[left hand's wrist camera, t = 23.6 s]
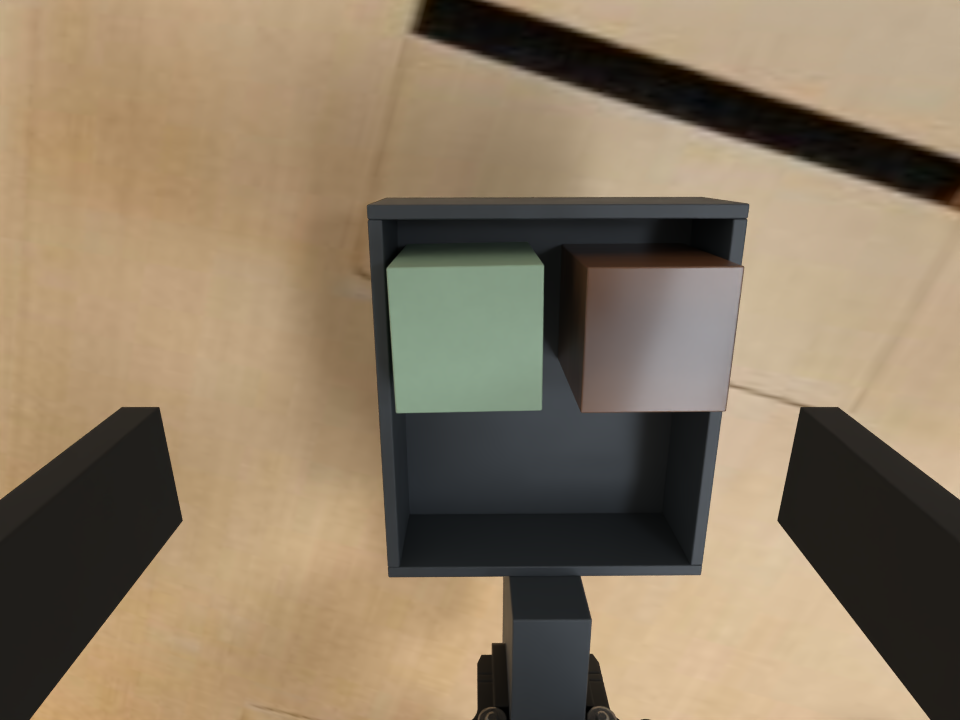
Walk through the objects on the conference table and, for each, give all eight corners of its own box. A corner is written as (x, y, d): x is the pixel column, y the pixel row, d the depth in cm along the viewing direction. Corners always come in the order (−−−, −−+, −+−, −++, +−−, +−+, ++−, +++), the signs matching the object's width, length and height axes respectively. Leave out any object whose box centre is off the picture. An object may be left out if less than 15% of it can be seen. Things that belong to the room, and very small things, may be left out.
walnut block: (561, 243, 25) (587, 267, 19) (683, 242, 25) (745, 265, 19) (557, 359, 26) (580, 413, 21) (671, 358, 26) (726, 412, 21)
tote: (385, 197, 25) (352, 210, 18) (702, 197, 25) (786, 208, 18) (409, 701, 33) (393, 838, 26) (648, 699, 33) (692, 835, 26)
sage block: (406, 243, 25) (386, 267, 19) (528, 241, 25) (544, 264, 19) (412, 359, 26) (395, 413, 21) (527, 357, 26) (542, 410, 21)
